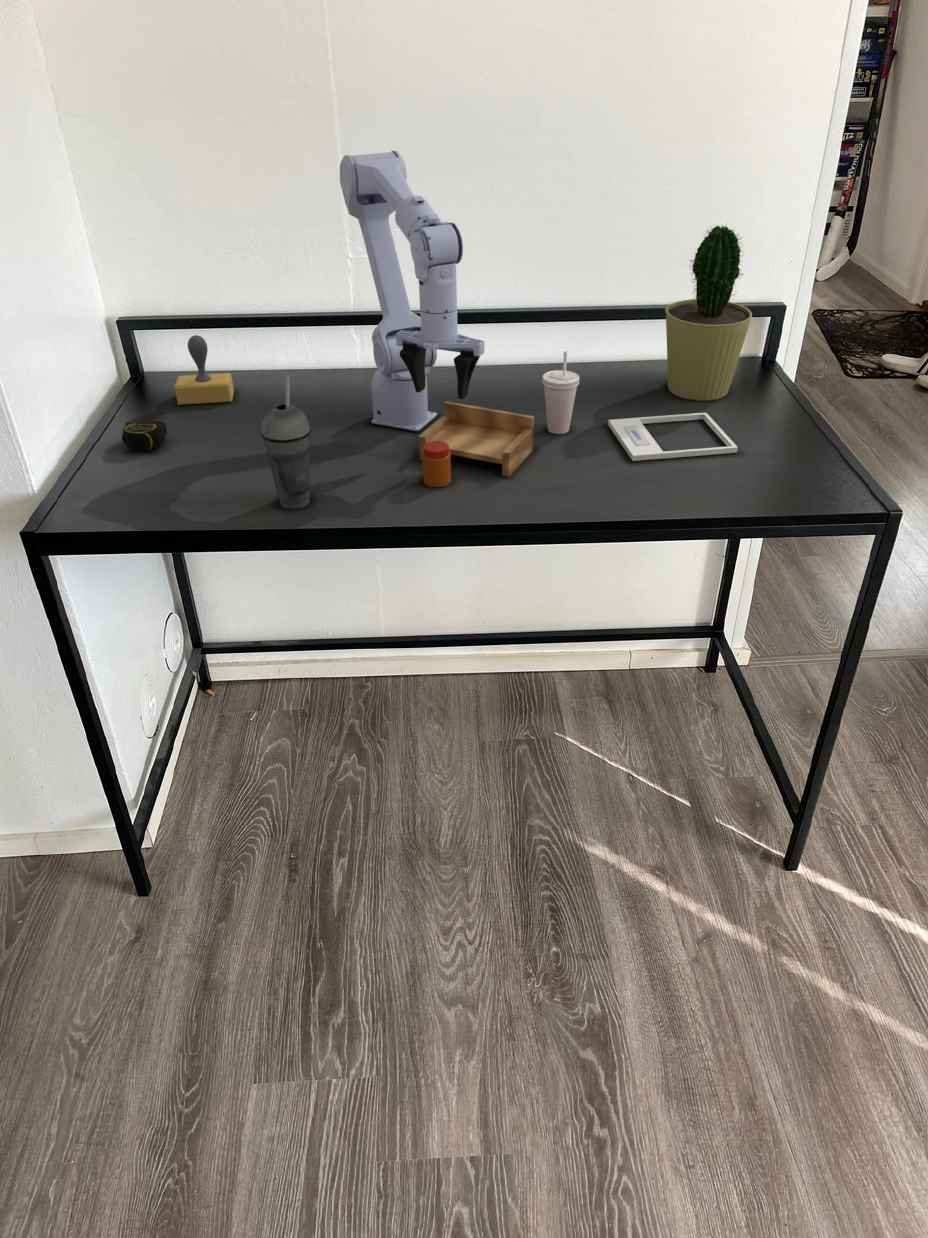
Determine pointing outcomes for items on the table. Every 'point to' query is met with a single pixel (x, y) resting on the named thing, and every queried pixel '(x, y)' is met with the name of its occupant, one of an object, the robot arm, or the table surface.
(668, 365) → the potted cactus
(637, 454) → the photo frame
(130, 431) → the tape measure
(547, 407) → the smoothie
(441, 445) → the spice bottle
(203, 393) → the rubber stamp
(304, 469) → the beverage cup
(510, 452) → the shelf
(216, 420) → the table surface
